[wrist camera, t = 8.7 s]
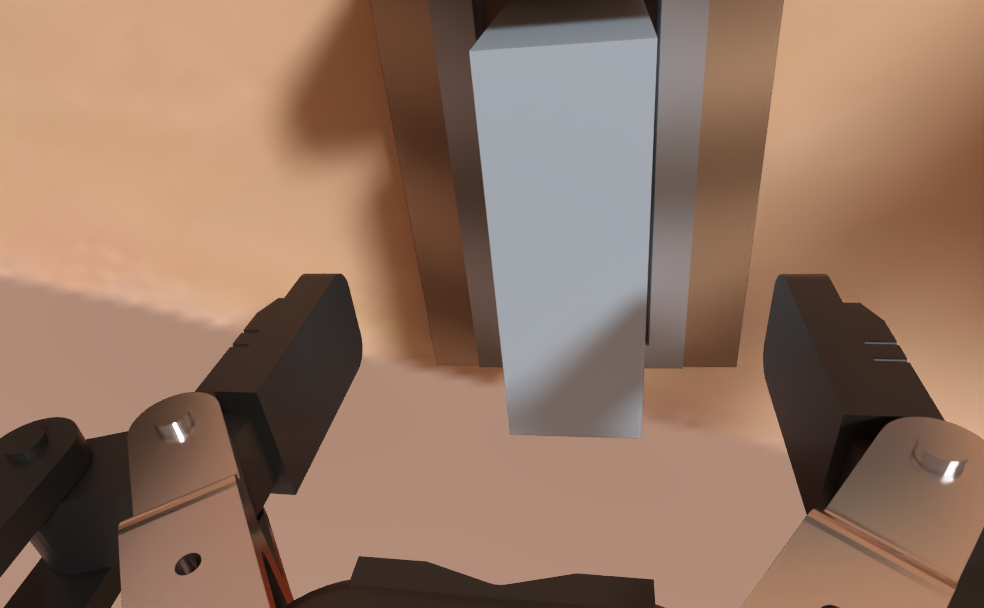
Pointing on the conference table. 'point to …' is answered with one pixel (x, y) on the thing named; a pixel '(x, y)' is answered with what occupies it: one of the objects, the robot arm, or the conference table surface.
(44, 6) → the conference table surface
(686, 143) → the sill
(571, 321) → the gray rectangular block
